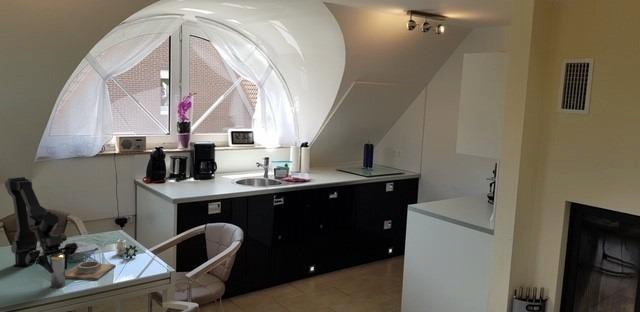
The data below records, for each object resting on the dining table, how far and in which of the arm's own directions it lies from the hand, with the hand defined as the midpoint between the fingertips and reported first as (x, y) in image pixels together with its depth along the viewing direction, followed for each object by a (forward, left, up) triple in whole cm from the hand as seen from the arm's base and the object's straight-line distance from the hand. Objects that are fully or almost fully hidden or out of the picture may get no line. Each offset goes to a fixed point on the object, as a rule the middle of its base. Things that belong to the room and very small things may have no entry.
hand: (59, 270), depth 203 cm
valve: (+9, +40, -7) cm, 42 cm away
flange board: (+3, +17, -7) cm, 18 cm away
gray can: (-1, +1, -7) cm, 7 cm away
